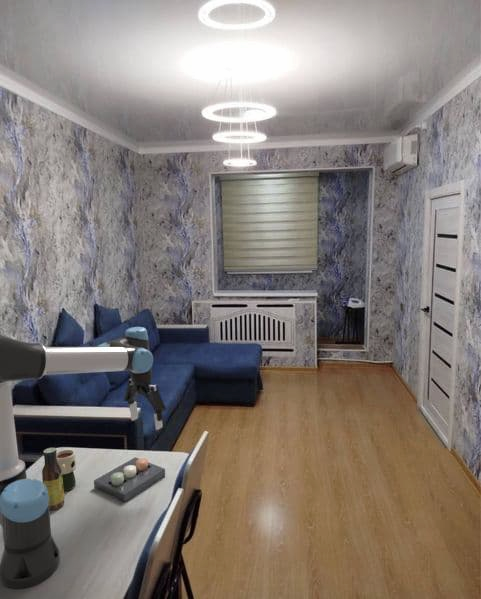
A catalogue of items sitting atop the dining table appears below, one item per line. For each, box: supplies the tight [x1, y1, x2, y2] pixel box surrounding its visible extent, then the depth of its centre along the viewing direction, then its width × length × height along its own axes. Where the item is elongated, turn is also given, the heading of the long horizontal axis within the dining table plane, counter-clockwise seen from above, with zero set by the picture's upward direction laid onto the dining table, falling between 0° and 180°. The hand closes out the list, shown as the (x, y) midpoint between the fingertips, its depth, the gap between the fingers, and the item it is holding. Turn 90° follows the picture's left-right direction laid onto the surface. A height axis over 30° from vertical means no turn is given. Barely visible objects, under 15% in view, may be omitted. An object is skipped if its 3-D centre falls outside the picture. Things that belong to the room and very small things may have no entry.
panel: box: [93, 456, 166, 503], centre depth 165 cm, size 20×16×3 cm
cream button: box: [124, 465, 136, 480], centre depth 165 cm, size 4×4×4 cm
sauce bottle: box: [41, 447, 65, 511], centre depth 150 cm, size 7×6×20 cm
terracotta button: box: [136, 458, 148, 472], centre depth 170 cm, size 4×4×4 cm
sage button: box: [111, 472, 124, 487], centre depth 160 cm, size 4×4×4 cm
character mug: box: [56, 448, 77, 491], centre depth 161 cm, size 11×7×13 cm, turn 15°
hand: (146, 423), depth 166 cm, fingers open, 13 cm apart
